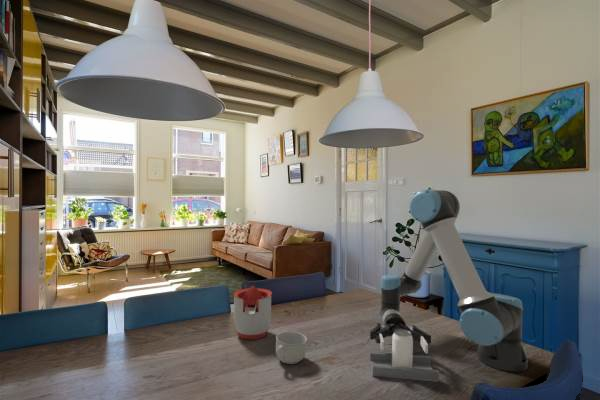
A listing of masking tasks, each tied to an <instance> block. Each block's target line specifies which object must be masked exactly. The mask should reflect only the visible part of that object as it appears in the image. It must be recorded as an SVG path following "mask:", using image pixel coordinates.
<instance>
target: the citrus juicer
mask: <svg viewBox="0 0 600 400" xmlns="http://www.w3.org/2000/svg"><path fill="white" fill-rule="evenodd" d="M272 295H273V292H272V291H271V290H270V289H266V288H259V287H256V286H255V285H251V287H249V288H243V289H239V290H236V291H234V292H233V322H234V326H235V330H236V333H237V336H238V337H239V338H241V339H244V340H258V339H259V340H261V339H262V338H264V337H266V336H267V333H268V331H269V327H270V324H271V320H272V319H271V318H272Z"/></svg>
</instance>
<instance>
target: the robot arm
mask: <svg viewBox="0 0 600 400" xmlns="http://www.w3.org/2000/svg"><path fill="white" fill-rule="evenodd" d="M460 207H461V206H460V202H459V199H458V197H457V196H456V194H455V193H453V192H451V191H448V190H444V189H443V190H437V189H436V190H435V189H430V188H429V189H423V190H419V191H418V192H416V193H415V194H414V195H413V196H412V198H411V200H410V203H409V212H410V215H411V216H412V217H411V218H413V219H414V220H415V221H417V222H419V223H420V225H421V226H422V229H423V233H422V235H421V237H420V239H419V241H418V244H417V245H416V247H415V249H414V251H413V253H412V255H411V257H410V260H409V261H408V264H407V265H406V268H405V269H404V272H403V274H402V275H401V277H400V276H399V275H396V274H384V275H382V277H381V284H380V288H381V289H380V300H381V301H380V307H379V315H380V317H381V320H382V322H383V325H382V324H381V323H380V322H379V323H378V322H377V323H376V325H375V327H374V328H372V329H371V330H370V331H369V339H370V340H372V341H373V340H374V341H375V343H376V344H379V346H380V351H384V350H385V341H384V339H385V338H387V337H390V338H391V337H392V336H393V334H394V330H396V329H404V330H408V331H410V332H411V333H412V338H413V341H416V342H418V343H420V346H421V348H422V350H423V351H424V353H425V354H429V345H430V344H432V335H431V334H429V333H427V332H425V331H423V330H422V329H420V328H418V327H417V326H416V325H412V326H411V327H409V326H408V325H407V324H406V321H405V320H404V317H403V316H402V314H401V297H404V296H407V295H411V294H416V293H417V292H419V291H420V290H421V289H422V280H423V277H424V276H425V273H426V271H427V270H428V268H429V266H430V264H431V262H432V260H433V257H434V256H435V254H436V253H437V252H438V253H439V255H440V258H441V260H442V262H443V265H444V267H445V269H446V272H447V273H448V276H449V278H450V281H451V282H452V285H453V287H454V289H455V291H456V293H457V295H458V299H459V301H458V302H457V307H458V309H459V312H460V314H461V315H460V319H459V325H460V329H461V331H462V333H463V334H464V335H465V337H466V338H467V339H468V340H470V341H471V342H473V343H475V344H477V345H478V347H477V350H476V356H477V359H478V360H479V361H480V362H481V363H484V364H485V365H487V366H489V367H491V368H494V369H497V370H501V371H505V372H513V373H514V372H515V373H519V372H524V371H527V369H528V368H529V367H528V363H529V359H528V358H527V354H526V351H525V349H524V346H523V311H524V308H523V302H522V300H521V299H520V298H518V297H514V296H511V295H508V294H507V295H506V294H501V293H494V292H489V291H487V289H486V288H485V286H484V284H483V282H482V279H481V278H480V276H479V274H478V270H477V269H476V267H475V265H474V262H473V261H472V258H471V256H470V255H469V253H468V251H467V248H466V247H465V244H464V243H463V240H462V238H461V236H460V233H459V232H458V229H457V228H456V226H455V225H456V224H455V223H456V220H457V218H458V215H459V212H460V209H461V208H460Z"/></svg>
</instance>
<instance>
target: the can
mask: <svg viewBox="0 0 600 400" xmlns="http://www.w3.org/2000/svg"><path fill="white" fill-rule="evenodd" d="M391 338H392V339H391V342H392V344H391V345H392V346H391V353H392V367H403V368H412V365H413V355H414V354H413V353H414V352H413V351H414V347H413V346H414V340H413V338H412V333H411V332H410V331H408V330H404V329H396V330H394V334H393V336H391Z"/></svg>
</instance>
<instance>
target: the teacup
mask: <svg viewBox="0 0 600 400" xmlns="http://www.w3.org/2000/svg"><path fill="white" fill-rule="evenodd" d="M275 339H276V340H275V355H276V357H277V358H278V359H279V360H280V361H281V362H282V363H283V364H286V365H295V364H296V365H297V364H298V363H299V362H300V361H303V359H304V358H305V357H306V352H307V342H308V338H307V336H306V335H304V334H303V333H300V332H297V331H281V332H279V333H278V334H277V335H275Z"/></svg>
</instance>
